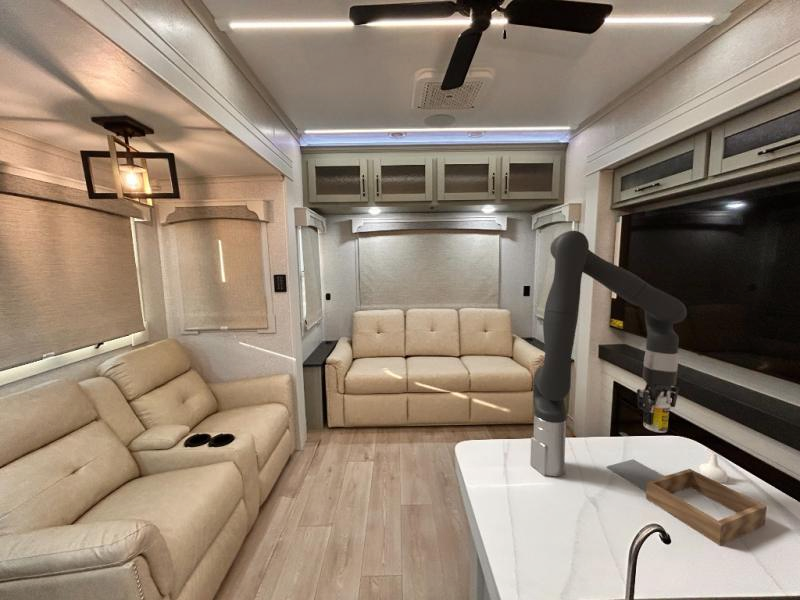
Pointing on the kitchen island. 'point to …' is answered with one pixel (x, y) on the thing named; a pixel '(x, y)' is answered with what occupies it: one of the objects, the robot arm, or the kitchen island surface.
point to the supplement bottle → (659, 416)
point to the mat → (635, 472)
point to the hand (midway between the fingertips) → (655, 422)
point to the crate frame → (718, 531)
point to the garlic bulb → (713, 470)
